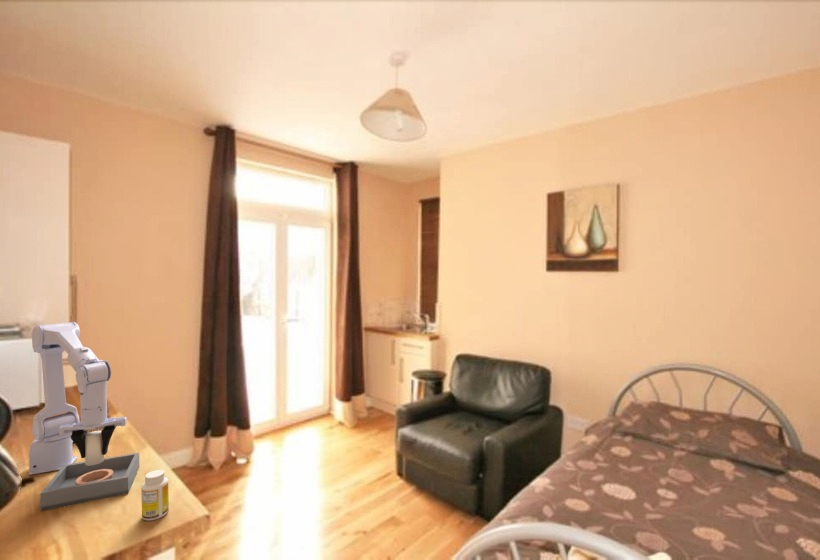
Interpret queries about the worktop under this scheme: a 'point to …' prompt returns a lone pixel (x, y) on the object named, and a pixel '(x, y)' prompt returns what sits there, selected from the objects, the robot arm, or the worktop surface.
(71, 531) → the worktop surface
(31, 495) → the worktop surface
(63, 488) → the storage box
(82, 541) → the worktop surface
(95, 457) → the peg
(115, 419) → the robot arm
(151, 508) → the supplement bottle
